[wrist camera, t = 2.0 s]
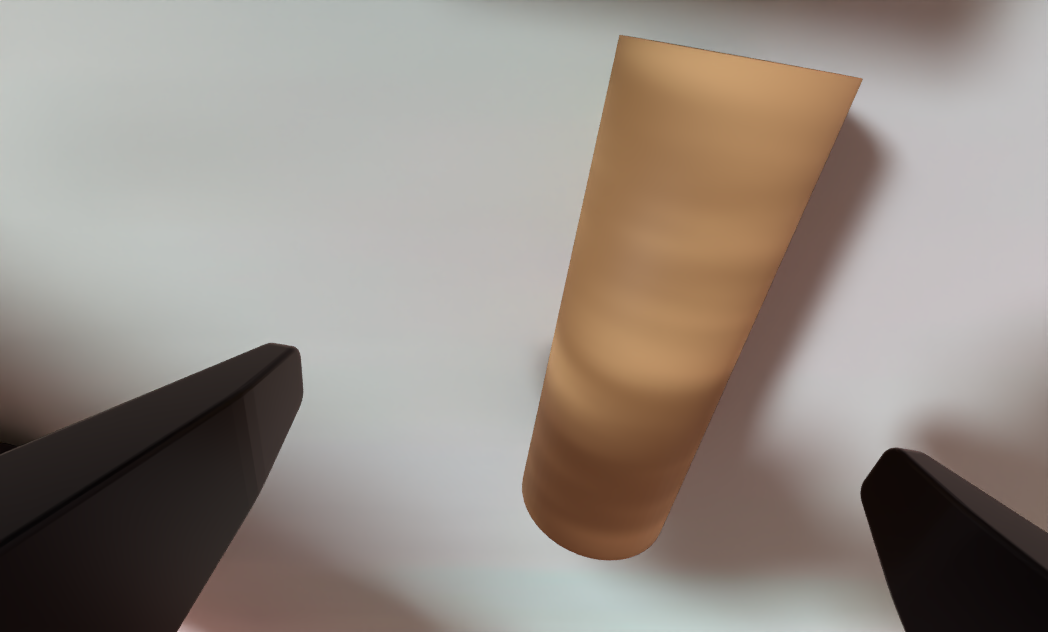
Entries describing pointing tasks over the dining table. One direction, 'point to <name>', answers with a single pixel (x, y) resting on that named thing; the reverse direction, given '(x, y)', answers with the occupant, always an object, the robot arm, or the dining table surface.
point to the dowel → (668, 277)
